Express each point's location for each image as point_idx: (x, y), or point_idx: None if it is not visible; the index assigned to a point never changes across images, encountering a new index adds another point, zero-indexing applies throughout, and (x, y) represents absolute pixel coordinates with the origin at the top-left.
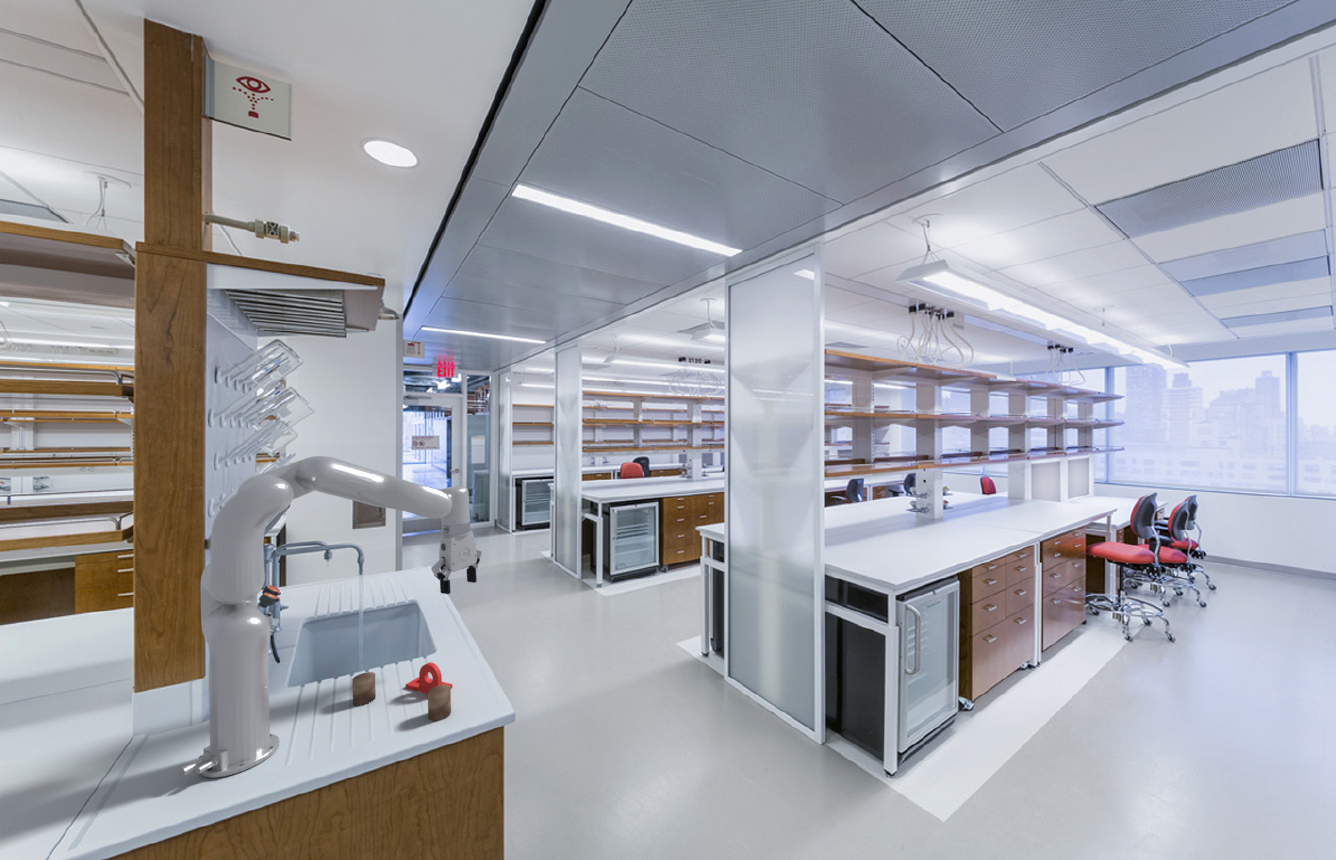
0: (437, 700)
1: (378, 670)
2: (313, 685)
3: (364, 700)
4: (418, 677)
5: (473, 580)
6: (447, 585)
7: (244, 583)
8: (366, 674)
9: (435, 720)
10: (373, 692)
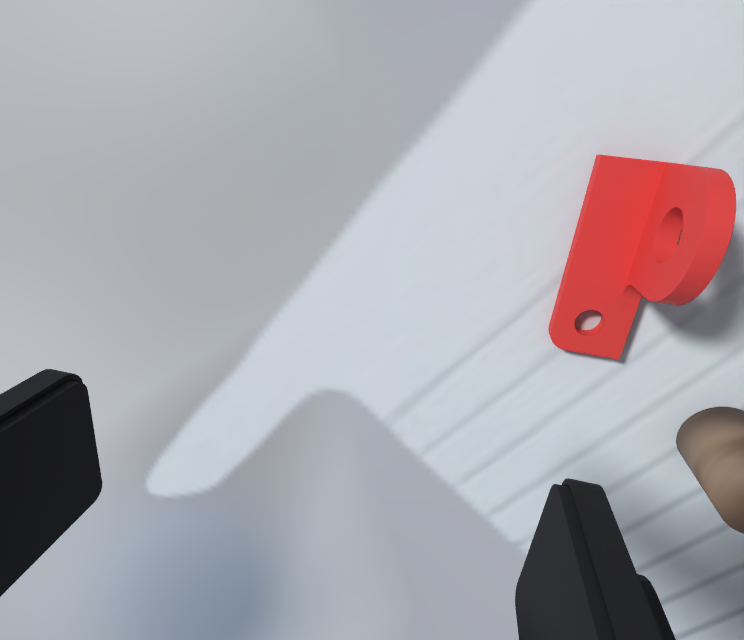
0: None
1: (498, 519)
2: None
3: None
4: (557, 345)
5: (62, 412)
6: (645, 635)
7: None
8: (740, 506)
9: None
10: (734, 424)
